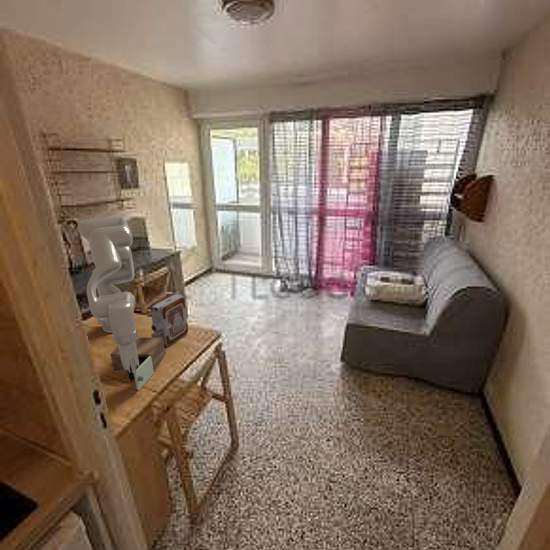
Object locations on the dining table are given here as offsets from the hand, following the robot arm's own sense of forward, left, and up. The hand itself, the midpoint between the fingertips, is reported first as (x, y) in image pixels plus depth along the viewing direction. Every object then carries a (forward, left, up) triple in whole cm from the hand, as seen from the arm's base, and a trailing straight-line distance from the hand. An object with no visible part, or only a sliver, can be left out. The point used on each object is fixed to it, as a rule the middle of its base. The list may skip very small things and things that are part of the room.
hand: (134, 378), depth 119 cm
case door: (+4, +1, -2) cm, 5 cm away
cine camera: (+3, +29, -3) cm, 29 cm away
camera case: (-3, +13, -3) cm, 14 cm away
